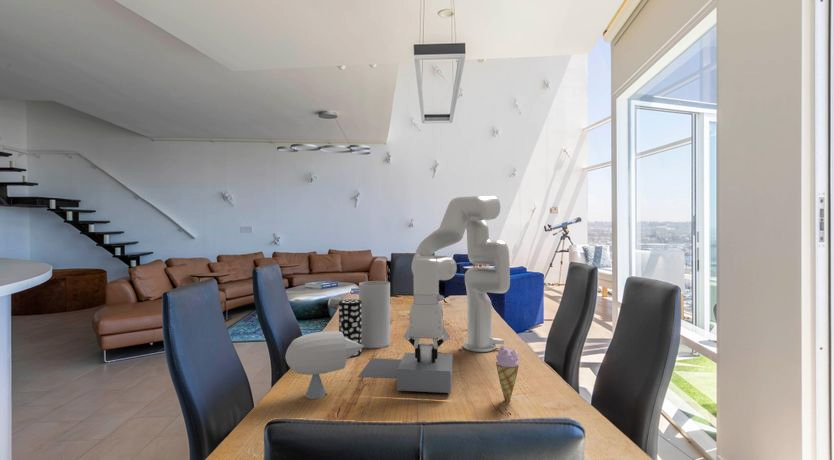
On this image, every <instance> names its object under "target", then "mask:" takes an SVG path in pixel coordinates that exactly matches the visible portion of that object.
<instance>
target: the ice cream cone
mask: <svg viewBox="0 0 834 460" xmlns="http://www.w3.org/2000/svg"><path fill="white" fill-rule="evenodd" d="M498 350H499V351H498V352H497V354H496V357H495V358H496V362H495V365H496V369H497V376H498V379H499V380H498V381H499V384H500V388H501V390H502V391H501V392H502V395H503V398H504V399H503V400H504V401H505V402H510V401H511V399H512V395H513V391H514V388H515V385H516V380H517V376H518V370H519V365H520V360H519V353H518V351H516V350H515V349H513V350H512V349H511V347H508V346H504V345H501V346H500V347H499V348H498Z"/></svg>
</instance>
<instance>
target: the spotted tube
mask: <svg viewBox="0 0 834 460" xmlns="http://www.w3.org/2000/svg"><path fill="white" fill-rule="evenodd" d="M338 331H340V332H342V333H343V335H344V337H345V338H347V339H350V340H352V341H354V342H356V343H359V344H361V345H362V301H361V300H359V299H353V298H352V299H351V298H350V299H342V300H339V301H338ZM362 351H363V348H362V349H360V350H359V351H358V352H356V353H355V354H354V355H352V356H351V357H349V358H356V357H359V356H362V353H363V352H362ZM349 358H348V359H349Z"/></svg>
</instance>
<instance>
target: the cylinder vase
mask: <svg viewBox="0 0 834 460" xmlns="http://www.w3.org/2000/svg"><path fill="white" fill-rule="evenodd" d="M358 300H361V301H362V345H363V346H364V347H363V348H365V349H382V348H387V347H388V346H390V344H391V282H390V281H382V280H375V281H374V280H373V281H370V280H369V281H362V282H359V283H358Z"/></svg>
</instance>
